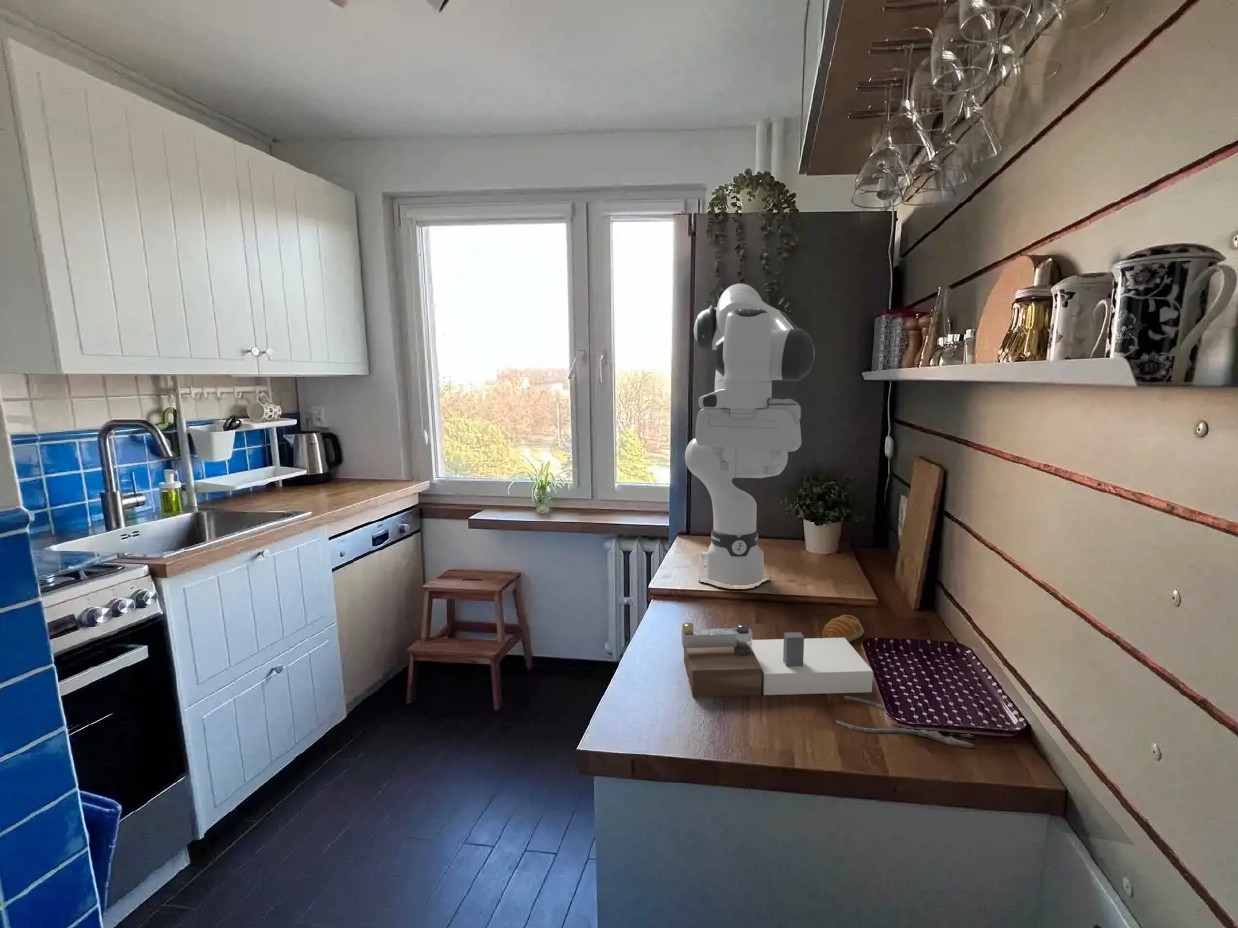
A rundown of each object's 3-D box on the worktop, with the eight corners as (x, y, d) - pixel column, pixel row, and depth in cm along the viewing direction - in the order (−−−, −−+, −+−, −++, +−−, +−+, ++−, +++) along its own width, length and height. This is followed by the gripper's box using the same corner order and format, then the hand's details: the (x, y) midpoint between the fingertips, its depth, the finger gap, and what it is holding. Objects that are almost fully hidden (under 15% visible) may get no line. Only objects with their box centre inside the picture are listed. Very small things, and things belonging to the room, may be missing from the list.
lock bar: (749, 638, 113) (750, 618, 113) (754, 647, 110) (754, 627, 109) (681, 640, 113) (681, 620, 112) (683, 649, 110) (683, 628, 109)
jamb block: (683, 660, 119) (683, 631, 118) (744, 659, 119) (745, 629, 118) (692, 696, 106) (692, 663, 105) (761, 695, 106) (761, 662, 105)
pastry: (842, 649, 123) (842, 631, 122) (812, 638, 128) (813, 621, 127) (866, 635, 129) (866, 618, 128) (837, 625, 134) (837, 609, 133)
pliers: (834, 693, 106) (963, 710, 99) (834, 697, 106) (962, 715, 100) (835, 724, 97) (977, 746, 90) (835, 729, 97) (977, 751, 91)
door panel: (747, 659, 119) (748, 613, 117) (843, 656, 119) (845, 610, 118) (763, 694, 106) (765, 644, 105) (871, 692, 106) (874, 641, 105)
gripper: (808, 398, 107) (806, 475, 109) (708, 397, 120) (708, 466, 122) (793, 399, 102) (791, 480, 104) (691, 398, 115) (691, 470, 117)
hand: (745, 472), depth 113 cm, fingers open, 8 cm apart
